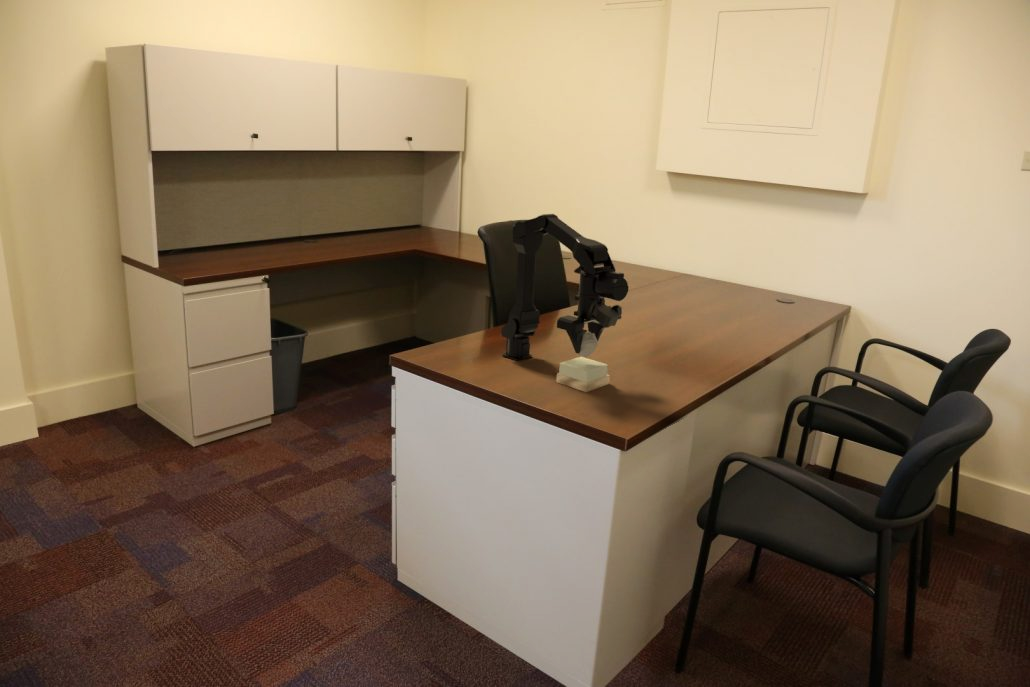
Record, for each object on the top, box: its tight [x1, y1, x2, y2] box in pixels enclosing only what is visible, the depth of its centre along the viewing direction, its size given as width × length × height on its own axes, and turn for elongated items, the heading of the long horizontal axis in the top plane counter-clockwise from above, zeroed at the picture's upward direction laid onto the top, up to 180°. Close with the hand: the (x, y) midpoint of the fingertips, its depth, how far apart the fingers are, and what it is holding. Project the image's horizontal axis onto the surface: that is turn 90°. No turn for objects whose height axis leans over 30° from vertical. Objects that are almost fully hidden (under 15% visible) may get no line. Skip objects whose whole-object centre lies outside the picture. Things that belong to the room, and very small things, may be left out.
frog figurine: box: [578, 330, 599, 358], centre depth 188 cm, size 6×7×7 cm
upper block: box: [558, 356, 609, 383], centre depth 190 cm, size 9×9×3 cm
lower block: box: [556, 372, 611, 393], centre depth 191 cm, size 10×10×3 cm
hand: (585, 350), depth 189 cm, fingers closed on frog figurine, 6 cm apart
